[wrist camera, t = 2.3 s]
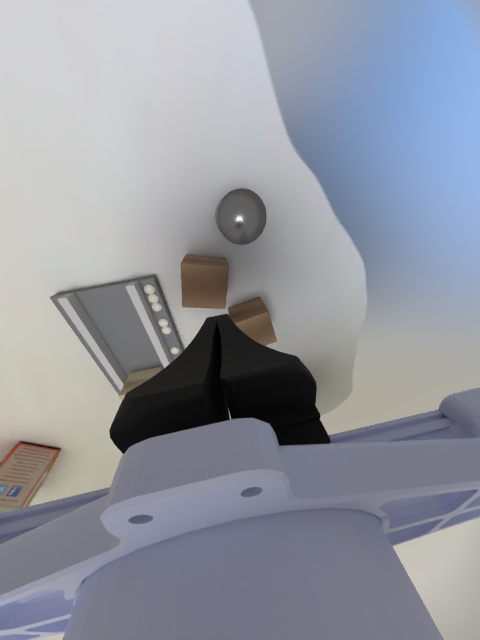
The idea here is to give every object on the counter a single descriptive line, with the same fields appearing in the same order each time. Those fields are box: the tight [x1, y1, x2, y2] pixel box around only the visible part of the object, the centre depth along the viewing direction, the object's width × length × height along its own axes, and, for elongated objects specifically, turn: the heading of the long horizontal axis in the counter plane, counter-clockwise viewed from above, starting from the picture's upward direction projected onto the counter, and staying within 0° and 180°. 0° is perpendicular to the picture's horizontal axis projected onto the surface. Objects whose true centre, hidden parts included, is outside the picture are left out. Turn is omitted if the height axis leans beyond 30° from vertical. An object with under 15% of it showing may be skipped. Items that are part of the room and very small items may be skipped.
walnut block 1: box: [181, 255, 229, 309], centre depth 19 cm, size 4×4×4 cm
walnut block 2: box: [228, 297, 277, 346], centre depth 22 cm, size 4×4×4 cm
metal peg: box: [215, 189, 266, 245], centre depth 16 cm, size 4×4×5 cm
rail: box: [50, 275, 184, 394], centre depth 23 cm, size 16×10×2 cm, turn 8°
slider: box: [119, 366, 163, 401], centre depth 23 cm, size 4×4×4 cm
